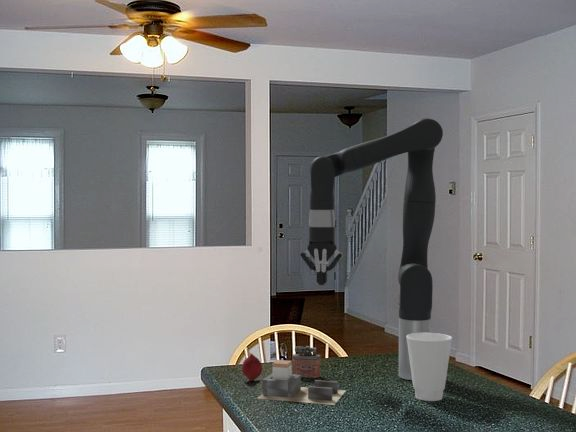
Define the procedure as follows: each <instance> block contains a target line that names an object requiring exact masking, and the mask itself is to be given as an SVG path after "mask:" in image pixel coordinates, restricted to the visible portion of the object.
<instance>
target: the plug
mask: <svg viewBox="0 0 576 432" xmlns="http://www.w3.org/2000/svg"><path fill="white" fill-rule="evenodd" d="M272 373H273V376H272V379H274V380H288V381H289V380H291V379H292V374H293V360H284V359H283V360H282V359H276V360H274V362H272Z"/></svg>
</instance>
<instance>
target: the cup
mask: <svg viewBox="0 0 576 432" xmlns="http://www.w3.org/2000/svg"><path fill="white" fill-rule="evenodd" d="M406 338H407V344H408V352H409V359H410V367H411V374H412V380H411V381H412V386H413V389H414V394H415V395H414V396H415V399H417V400H420V401H425V402H436V401H441V400H442V399H443V393H444V390H446V382H447V375H448V368H449V361H450V354H451V347H452V341H453V337H452V336H451V335H449V334H444V333H438V332H431V333H412V334H408V335H407V336H406Z"/></svg>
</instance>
